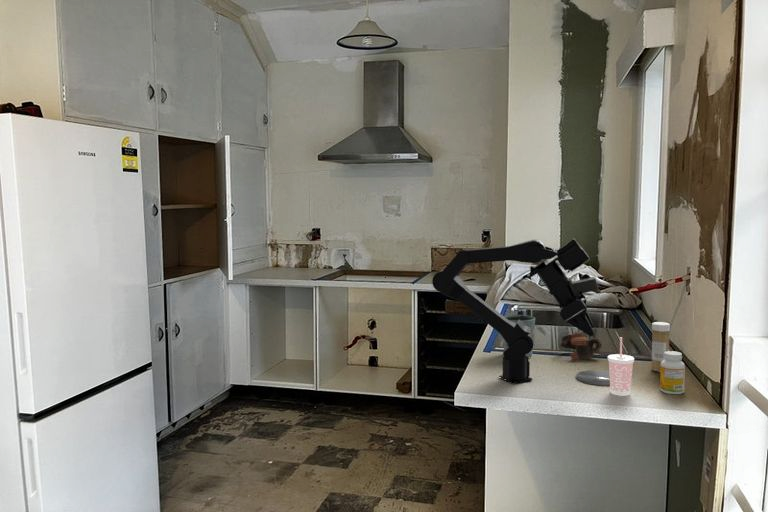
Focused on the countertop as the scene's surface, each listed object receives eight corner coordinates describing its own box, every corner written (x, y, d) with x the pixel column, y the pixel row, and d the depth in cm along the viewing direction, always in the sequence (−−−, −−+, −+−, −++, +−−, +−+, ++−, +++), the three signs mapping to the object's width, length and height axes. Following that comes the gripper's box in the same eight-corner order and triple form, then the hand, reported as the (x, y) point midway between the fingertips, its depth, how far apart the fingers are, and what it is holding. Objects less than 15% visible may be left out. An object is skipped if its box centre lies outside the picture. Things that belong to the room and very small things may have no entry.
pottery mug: (561, 362, 179) (556, 335, 183) (567, 368, 187) (561, 342, 191) (603, 354, 175) (596, 327, 178) (606, 361, 183) (600, 335, 186)
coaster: (599, 388, 152) (599, 386, 152) (566, 376, 163) (566, 374, 163) (634, 381, 157) (634, 379, 157) (600, 370, 168) (600, 368, 168)
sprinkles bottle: (672, 371, 166) (673, 323, 164) (662, 374, 163) (663, 325, 162) (657, 367, 169) (658, 320, 168) (647, 370, 167) (648, 322, 166)
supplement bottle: (663, 386, 152) (664, 349, 152) (686, 390, 149) (687, 352, 148) (657, 392, 148) (658, 353, 147) (681, 396, 145) (682, 356, 144)
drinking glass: (499, 358, 182) (499, 319, 181) (503, 350, 192) (503, 313, 191) (534, 360, 179) (534, 321, 178) (536, 352, 189) (536, 314, 188)
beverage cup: (602, 393, 148) (603, 337, 147) (613, 387, 153) (614, 333, 151) (627, 398, 144) (628, 341, 143) (637, 392, 148) (638, 336, 147)
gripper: (583, 268, 144) (622, 322, 142) (583, 260, 162) (618, 308, 160) (544, 293, 147) (582, 346, 146) (548, 283, 165) (582, 330, 163)
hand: (592, 331), depth 154 cm, fingers open, 9 cm apart
